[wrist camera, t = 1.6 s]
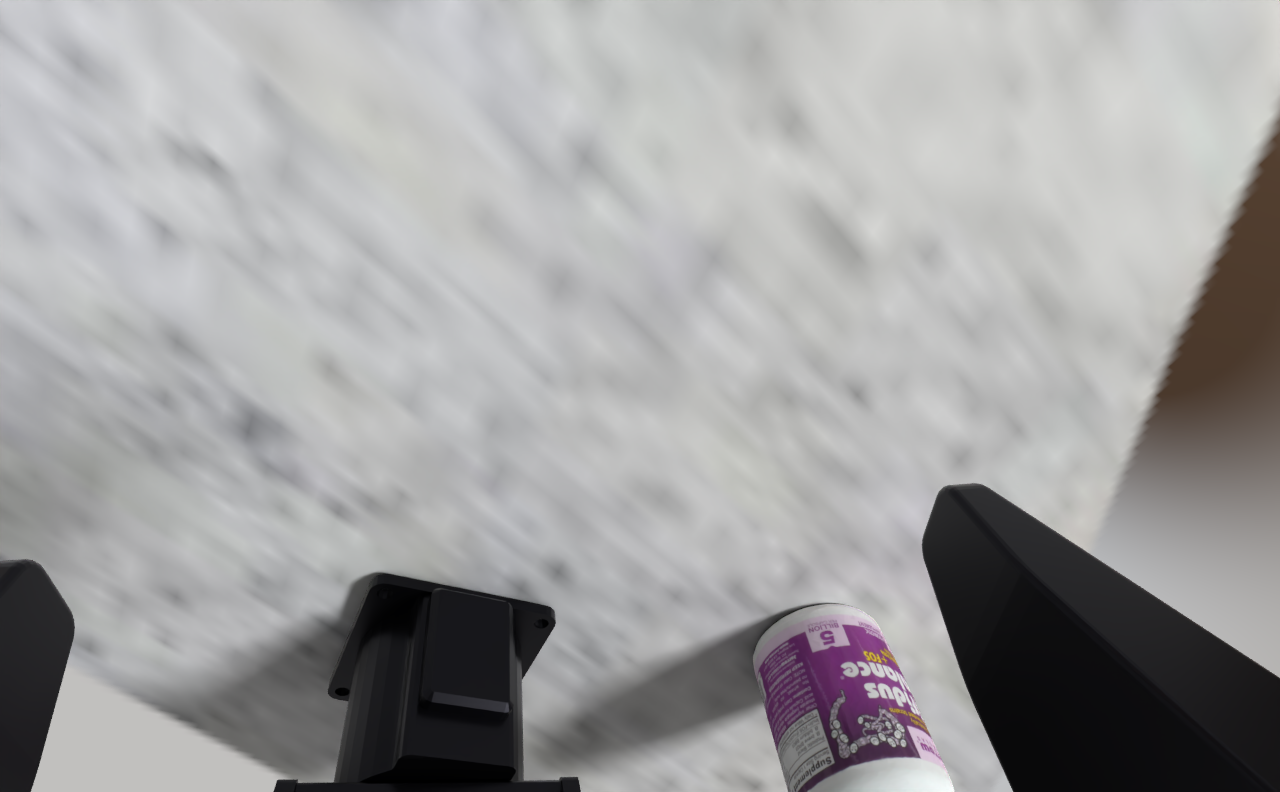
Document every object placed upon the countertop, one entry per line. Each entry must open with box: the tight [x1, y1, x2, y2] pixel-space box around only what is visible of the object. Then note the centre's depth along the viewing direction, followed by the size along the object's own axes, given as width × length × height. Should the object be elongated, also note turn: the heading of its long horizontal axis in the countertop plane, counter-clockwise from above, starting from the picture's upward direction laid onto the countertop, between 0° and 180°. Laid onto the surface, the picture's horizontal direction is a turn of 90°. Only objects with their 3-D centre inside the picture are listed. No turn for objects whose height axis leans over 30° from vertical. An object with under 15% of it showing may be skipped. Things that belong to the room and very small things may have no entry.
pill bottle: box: [753, 604, 954, 792], centre depth 28 cm, size 5×5×10 cm
